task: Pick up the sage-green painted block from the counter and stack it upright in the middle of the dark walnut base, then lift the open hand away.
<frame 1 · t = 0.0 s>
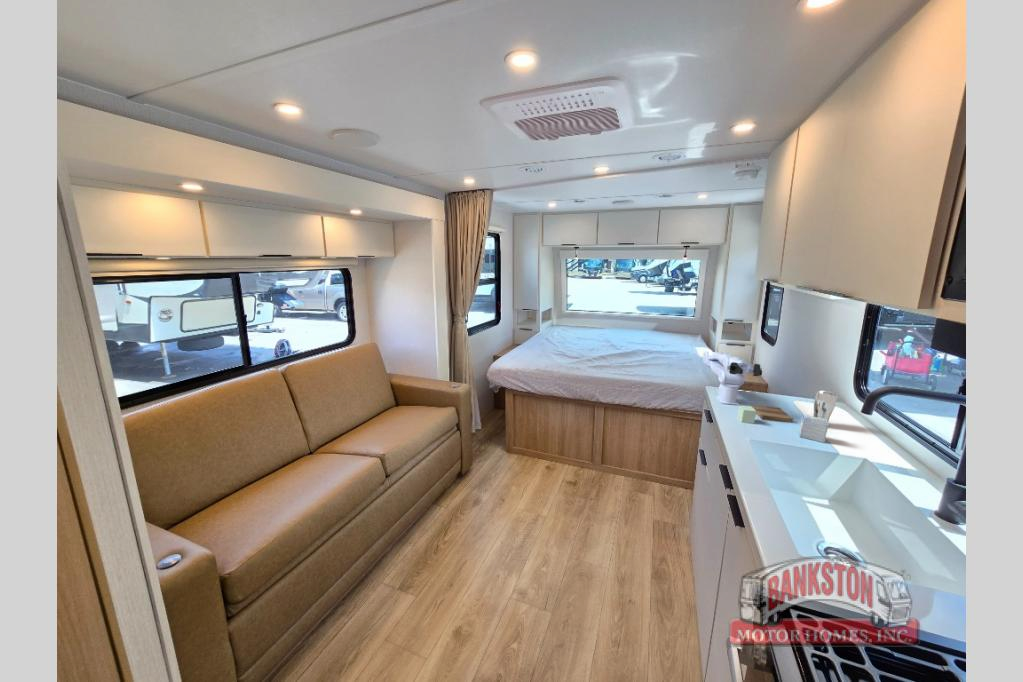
hand: (751, 372, 157), 22 cm above the worktop, tool horizontal, fingers open, 7 cm apart
medicine box: (810, 438, 145), on the worktop
sage block: (745, 420, 159), on the worktop
beer glass: (819, 425, 157), on the worktop
walnut base: (770, 415, 165), on the worktop
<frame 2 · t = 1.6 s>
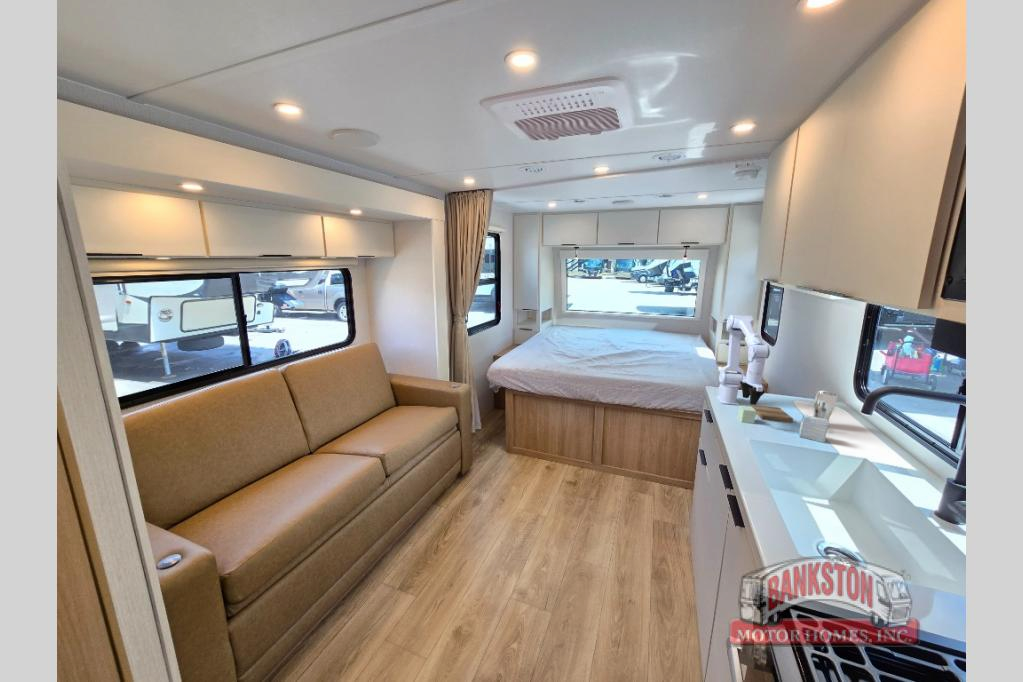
hand: (749, 401, 157), 9 cm above the worktop, tool pointing down, fingers open, 7 cm apart
nothing on the worktop moved.
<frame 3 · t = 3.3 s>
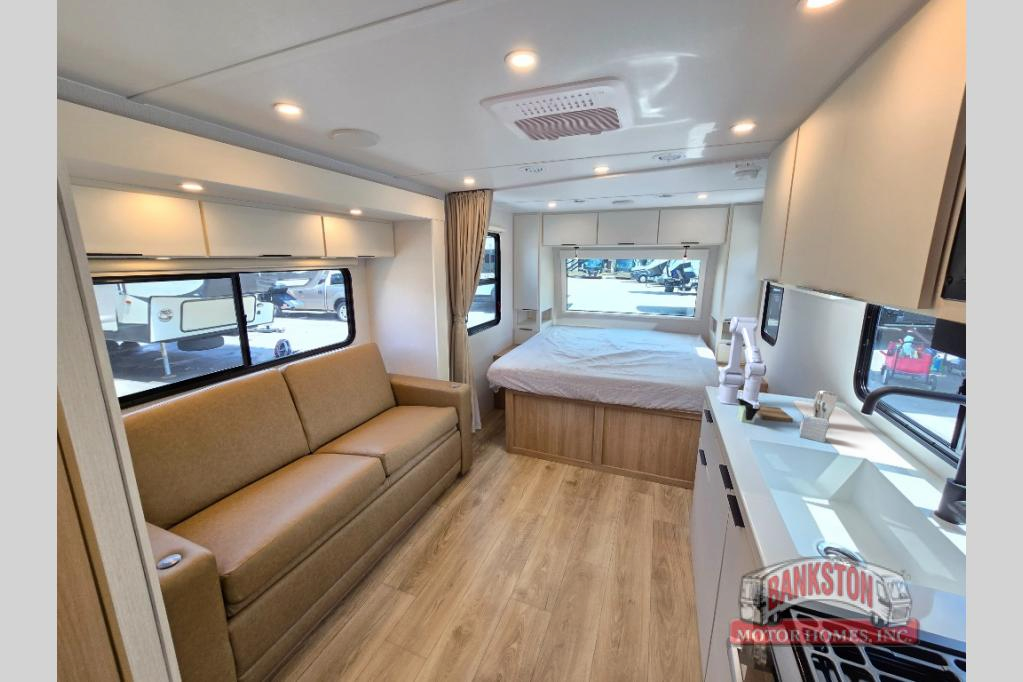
hand: (746, 417, 159), 2 cm above the worktop, tool pointing down, fingers closed on sage block, 5 cm apart
sage block: (745, 420, 159), on the worktop, touching gripper
everything else where it was.
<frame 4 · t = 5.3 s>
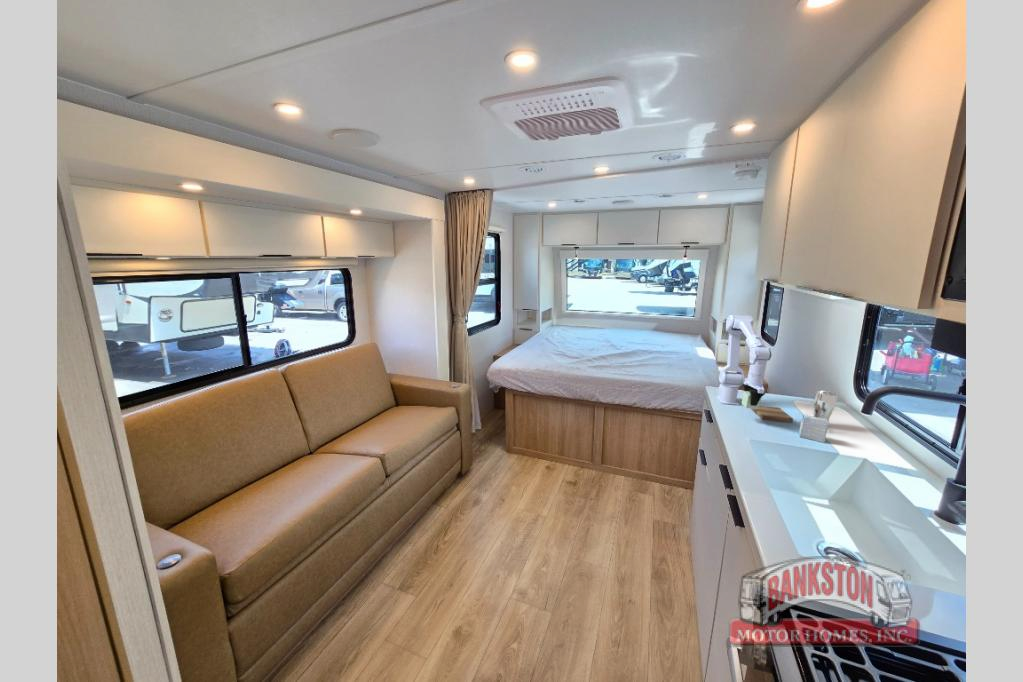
hand: (750, 402, 158), 8 cm above the worktop, tool pointing down, fingers closed on sage block, 5 cm apart
sage block: (749, 406, 158), point 7 cm above the worktop, touching gripper
everything else where it was.
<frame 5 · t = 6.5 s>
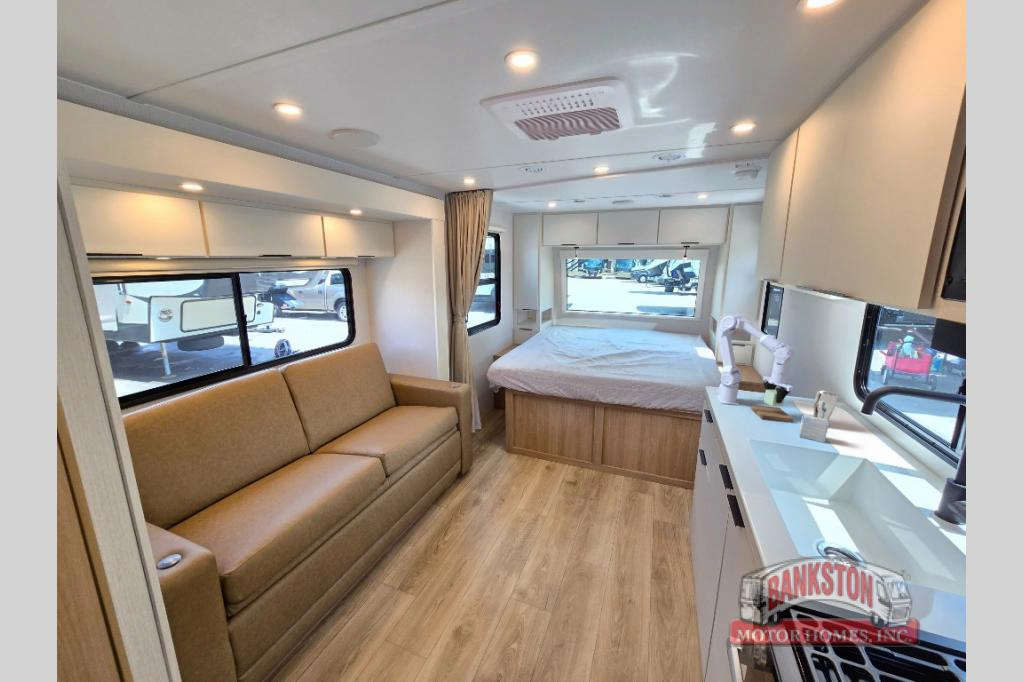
hand: (773, 400, 163), 8 cm above the worktop, tool pointing down, fingers closed on sage block, 5 cm apart
sage block: (772, 403, 164), point 6 cm above the worktop, touching gripper
everything else where it was.
when the fingers open (5 cm above the worktop, at t = 7.6 s): sage block stays where it is, resting on walnut base.
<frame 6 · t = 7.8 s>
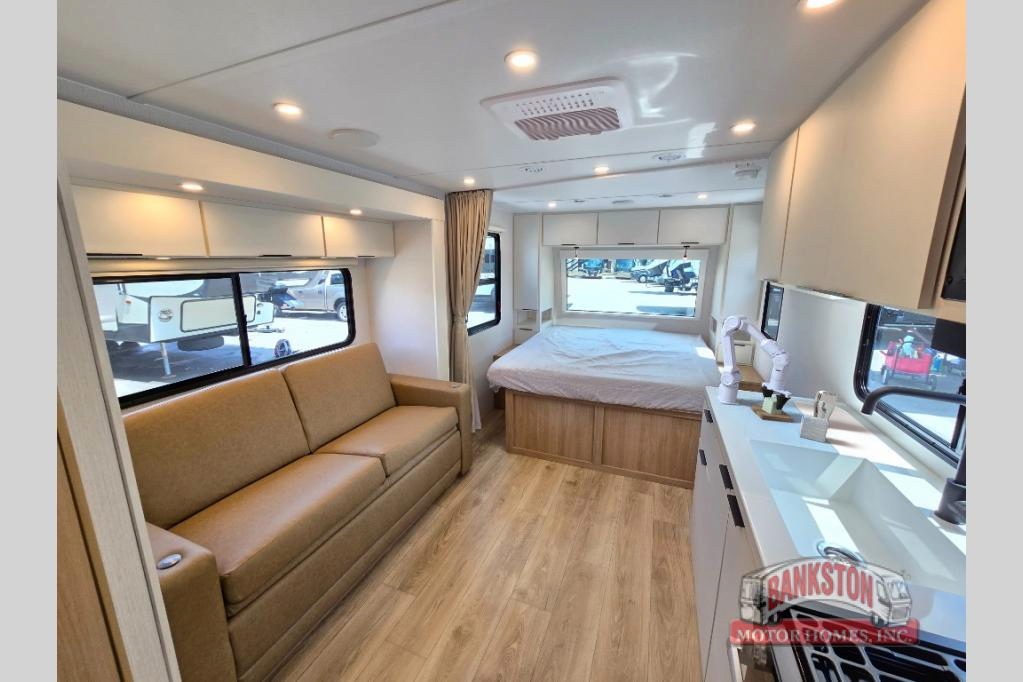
hand: (772, 406, 164), 5 cm above the worktop, tool pointing down, fingers open, 6 cm apart
sage block: (771, 411, 165), point 2 cm above the worktop, touching walnut base
everything else where it was.
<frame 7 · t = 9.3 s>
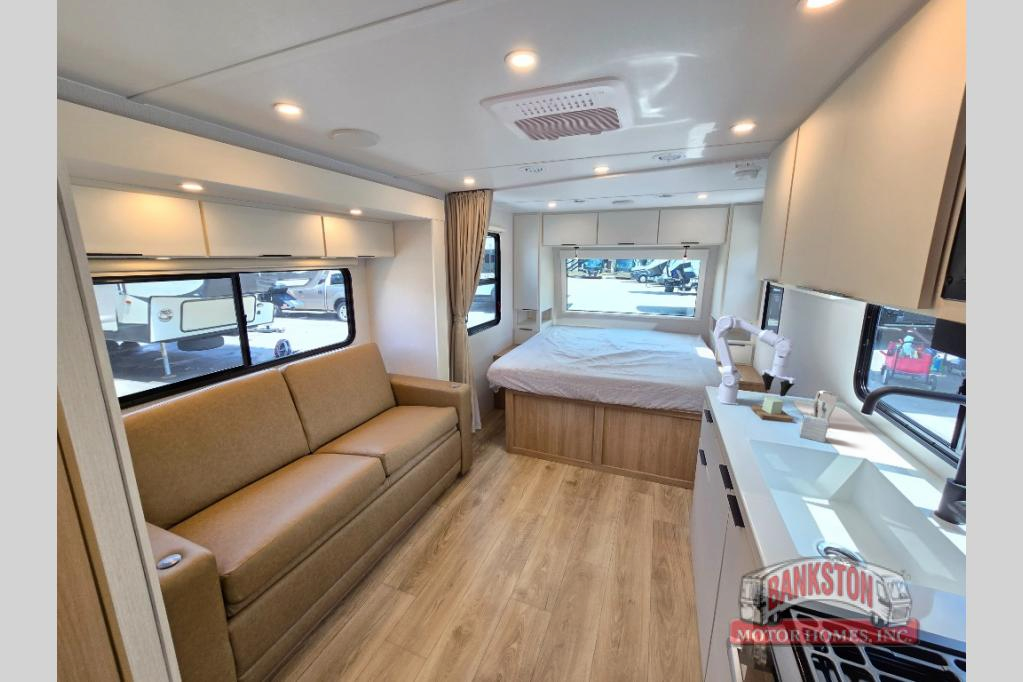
hand: (774, 392, 165), 10 cm above the worktop, tool pointing down, fingers open, 7 cm apart
nothing on the worktop moved.
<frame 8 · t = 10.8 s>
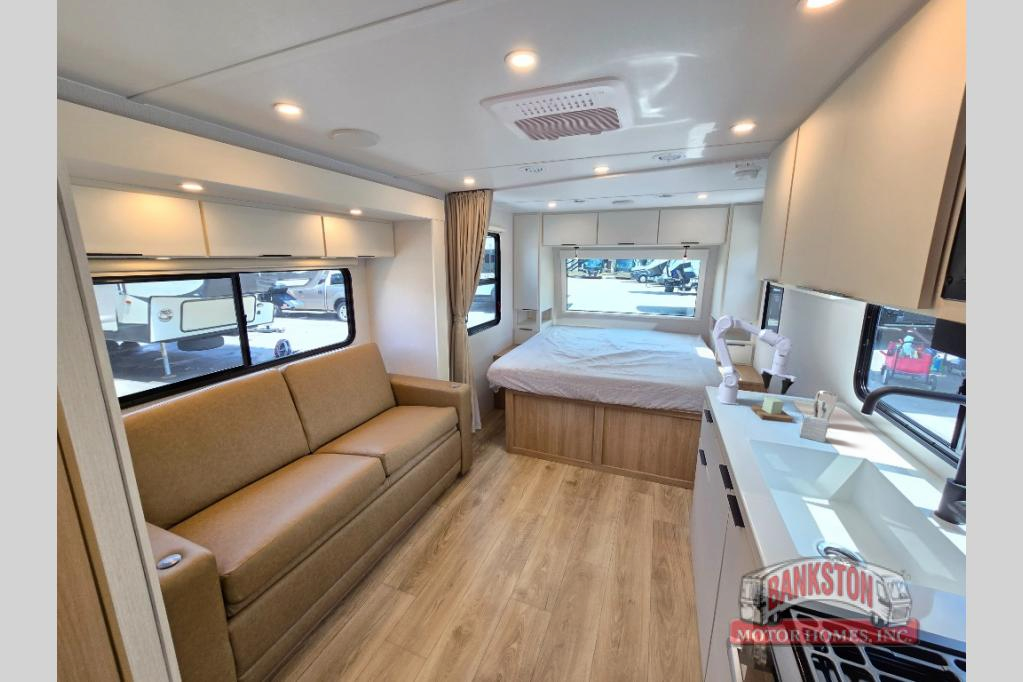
hand: (774, 391, 167), 10 cm above the worktop, tool pointing down, fingers open, 7 cm apart
nothing on the worktop moved.
at the end: sage block 0.1 cm off-centre on the walnut base, point 2.0 cm above the walnut base's base; sage block tilted 0°; sage block touching walnut base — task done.
